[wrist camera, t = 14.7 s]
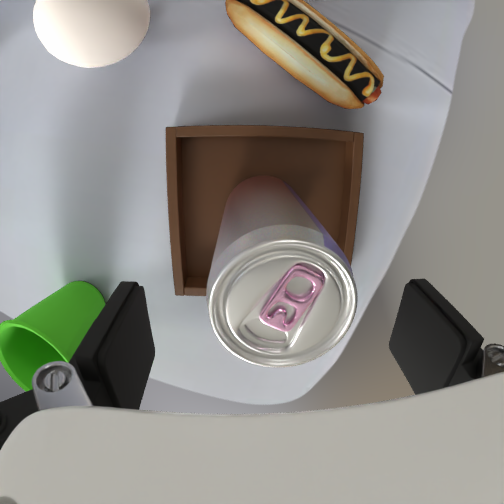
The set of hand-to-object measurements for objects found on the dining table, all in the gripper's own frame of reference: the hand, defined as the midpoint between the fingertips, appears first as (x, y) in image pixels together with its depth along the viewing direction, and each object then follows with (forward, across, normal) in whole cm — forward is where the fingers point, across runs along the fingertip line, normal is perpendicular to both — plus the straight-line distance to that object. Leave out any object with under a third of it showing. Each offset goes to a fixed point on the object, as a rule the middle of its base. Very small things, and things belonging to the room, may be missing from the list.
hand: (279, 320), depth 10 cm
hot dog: (+17, -3, -13) cm, 21 cm away
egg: (+17, +11, -15) cm, 25 cm away
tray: (+16, -1, 0) cm, 16 cm away
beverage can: (+16, -1, 0) cm, 16 cm away
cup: (+17, +17, +10) cm, 26 cm away
